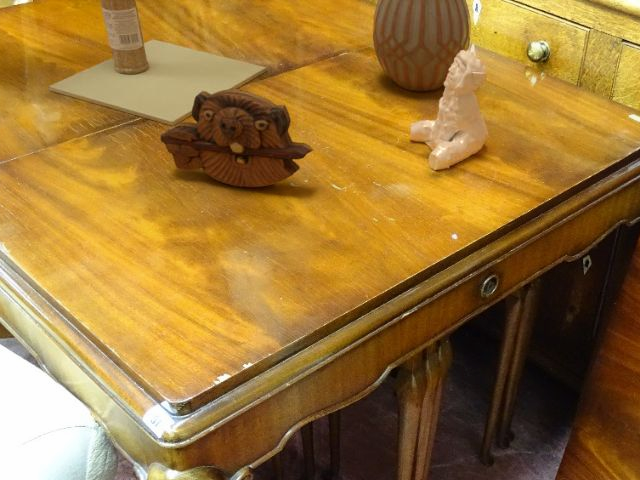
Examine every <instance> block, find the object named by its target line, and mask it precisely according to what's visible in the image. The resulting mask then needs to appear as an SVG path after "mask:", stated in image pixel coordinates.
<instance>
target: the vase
mask: <svg viewBox="0 0 640 480" xmlns="http://www.w3.org/2000/svg"><path fill="white" fill-rule="evenodd" d="M374 9H375V10H374V15H373V23H372V40H373V48H374V52H375V55H376V58H377V61H378V63H379V65H380V67H381V68H382V70H383V71H384V73H385V74H386V75H387V76H388V77H389V78H390V79H391V80H392V81H393V82H394V83H395V84H396V85H398V86H399V87H400V88H402V89H405V90H408V91H411V92H412V91H413V92H431V91H435V90H439V89H441V88H442V87H443V86H444V82H445V81H446V77H447V74H448V73H449V68H451V65H452V64H453V63H454V58H455V57H456V56H457V54H458V53H459V52H460V51H461V50H465V51H467V50H469V48H470V43H471V34H472V33H471V32H472V31H471V29H472V28H471V27H472V24H471V14H470V9H469V6H468V2H467V0H378V1H377V4H376V6H375V8H374Z"/></svg>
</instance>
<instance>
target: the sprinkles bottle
mask: <svg viewBox="0 0 640 480" xmlns="http://www.w3.org/2000/svg"><path fill="white" fill-rule="evenodd" d="M100 5H101V6H100V7H101V11H102V17H103V21H104V24H105V29H106V33H107V39H108V43H109V47H110V49H111V55H112V58H113V59H114V68H115V70H116V71H118V72H120V73H125V74H135V73H139V72H143V71H145V70H146V69H147V68H148V67H149V63H148V61H147V58H146V53H145V48H144V43H145V39H144V34H143V29H142V24H141V19H140V17H139V12H138V6H137V2H136V0H100Z"/></svg>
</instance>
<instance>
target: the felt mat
mask: <svg viewBox="0 0 640 480" xmlns="http://www.w3.org/2000/svg"><path fill="white" fill-rule="evenodd" d="M144 48H145V53H146V58H147V61H148V63H149V67H148V68H147V69H146V70H145V71H143V72H139V73H135V74H125V73H120V72H118V71H116V70H115V68H114V59H113V57H111V58H109V59H106V60H104V61H102V62H100V63H97V64H95V65H92V66H91V67H88V68H87V69H84V70H82V71H80V72H77V73H75V74H73V75H71V76H68V77H66V78H63V79H62V80H60V81H57V82H55V83H53V84H51V85H49V86H48V89H49V91H50V92H53V93H56V94H60V95H63V96H67V97H71V98H74V99H78V100H81V101H85V102H88V103H92V104H95V105H99V106H102V107H104V108H109V109H112V110H116V111H120V112H123V113H126V114H130V115H134V116H137V117H140V118H144V119H147V120H151V121H154V122H158V123H162V124H165V125H168V126H170V127H172V126H177V125H178V124H180V123H181V122H184V121H185V120H186V119H188V118H190V117H192V107H193V104H194V100H195V97H196V96H197V95H199V93H200V92H202V91H206V92H208V93H209V94H214V93H216V92H219V91H222V90H229V89H236V90H238V89H239V88H241V87H242V86H244V85H246V84H247V83H249V82H251V81H253V80H254V79H256V78H258V77H259V76H261V75H263V74H265V73H266V72H267V71H268V70H267V67H266V66H262V65H259V64H255V63H250V62H246V61H242V60H238V59H233V58H231V57H226V56H222V55H218V54H214V53H211V52H206V51H202V50H199V49H194V48H190V47H187V46H181V45H178V44H175V43H174V44H173V43H169V42H165V41H162V40H157V39H150V40H148V41H146V42H144Z"/></svg>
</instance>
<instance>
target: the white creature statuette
mask: <svg viewBox="0 0 640 480" xmlns="http://www.w3.org/2000/svg"><path fill="white" fill-rule="evenodd" d="M486 81H487V73H486V66H485V65H484V64H483V60H482V59H480V58H478V56H477V55H475V54H473V52H471V51H470V50H469V49H468V50H467V51H465V50H461V51H460V52H459V53H458V54H457V56H456V57H455V58H454V63H453V64H452V65H451V68H449V73H448V74H447V77H446V81H445V82H444V85H443V86H444V91H443V92H442V96H441V97H440V99H439V100H438V112H437V114H436V115H437V117H436V119H431V120H430V119H423V120H422V119H420V120H418V121H415V122H412V123H411V122H410V125H409V126H410V127H409V137H410V138H409V139H410V141H413V142H415V143H416V142H417V143H424V144H425V145H426V146H428V147H429V149H430V151H431V152H430V154H429V155H428V165H429V167H430V169H432V170H434V171H437V170H438V171H441V170H445V169H450V167H451V166H454V165H455V164H458V163H459V162H463V161H464V160H466V159H468V158H469V157H471V156H473V155H475V154H477V153H478V152H479V150H481V149H483V145H484V144H485V143H486V141H487V139H488V137H489V134H490V133H489V130H488V127H487V124H486V122H485V118H484V116H483V115H482V112H481V111H480V109H481V107H480V105H479V101H478V99H479V98H478V97H477V96H476V95H477V94H475V90H477V89H478V88H479V86H481V85H484V83H485V82H486Z"/></svg>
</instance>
